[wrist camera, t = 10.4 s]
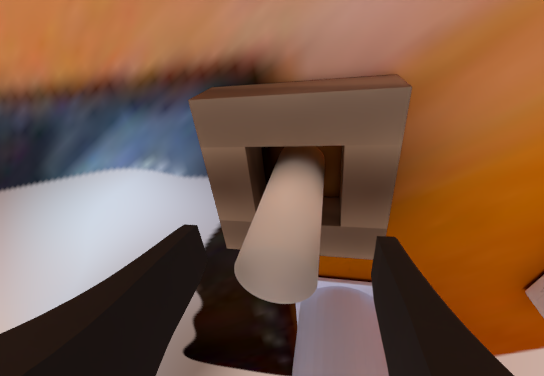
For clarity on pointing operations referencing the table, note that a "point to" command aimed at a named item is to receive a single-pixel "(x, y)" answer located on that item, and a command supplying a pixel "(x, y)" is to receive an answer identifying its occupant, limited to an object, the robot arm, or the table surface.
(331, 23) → the table surface
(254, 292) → the peg
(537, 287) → the skincare box
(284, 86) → the brown square frame
